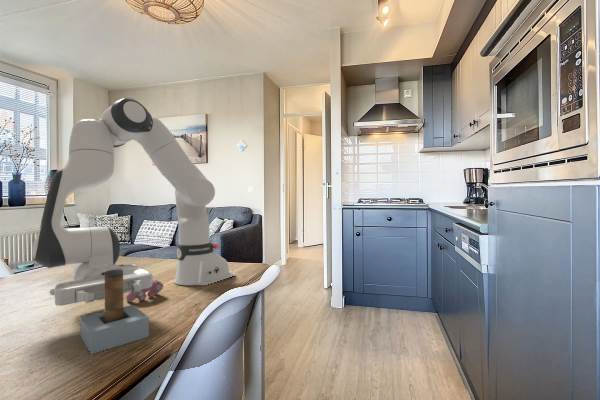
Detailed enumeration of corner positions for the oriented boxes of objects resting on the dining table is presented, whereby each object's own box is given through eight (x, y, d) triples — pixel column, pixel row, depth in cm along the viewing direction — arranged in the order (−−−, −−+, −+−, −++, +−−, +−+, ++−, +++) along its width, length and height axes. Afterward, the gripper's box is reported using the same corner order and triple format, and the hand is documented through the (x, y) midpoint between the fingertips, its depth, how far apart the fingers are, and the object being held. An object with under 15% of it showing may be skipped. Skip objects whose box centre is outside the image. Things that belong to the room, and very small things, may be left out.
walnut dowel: (121, 331, 72) (120, 268, 71) (125, 336, 69) (125, 271, 69) (103, 336, 69) (102, 271, 69) (107, 342, 66) (106, 274, 66)
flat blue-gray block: (133, 322, 77) (133, 304, 77) (148, 336, 69) (148, 317, 69) (80, 336, 69) (80, 317, 69) (91, 354, 61) (90, 332, 61)
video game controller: (131, 309, 90) (137, 290, 88) (123, 300, 92) (129, 281, 90) (161, 299, 98) (167, 281, 97) (153, 291, 101) (159, 273, 99)
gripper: (48, 276, 71) (56, 289, 61) (141, 263, 86) (160, 271, 76) (48, 303, 71) (56, 320, 62) (142, 285, 86) (160, 296, 76)
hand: (114, 293), depth 69 cm, fingers open, 8 cm apart
